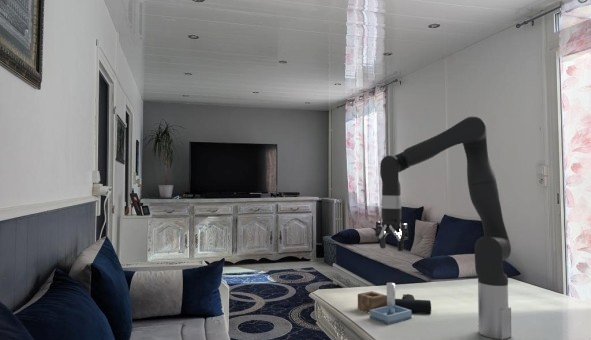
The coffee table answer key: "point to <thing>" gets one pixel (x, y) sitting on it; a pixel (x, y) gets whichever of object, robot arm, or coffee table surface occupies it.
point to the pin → (390, 298)
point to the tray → (382, 316)
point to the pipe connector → (414, 304)
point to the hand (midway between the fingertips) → (391, 249)
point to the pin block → (371, 301)
